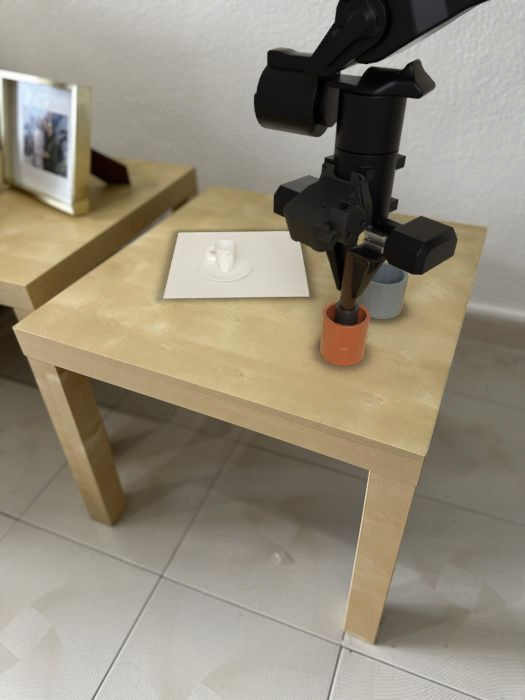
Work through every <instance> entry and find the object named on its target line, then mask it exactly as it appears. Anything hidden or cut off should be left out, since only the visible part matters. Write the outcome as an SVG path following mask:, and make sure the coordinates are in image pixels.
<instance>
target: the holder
mask: <svg viewBox="0 0 525 700" xmlns="http://www.w3.org/2000/svg"><path fill="white" fill-rule="evenodd" d="M336 302H337V301H332V302H331V303H328V304H327V305H326V306H325V307H324V308H323V310H322V317H321V327H320V328H321V329H320V330H321V331H320V344H319V354H320V355H321V357H322V359H323V360H325V361H326V362H328V363H330V364H332V365H335V366H341V367H345V366H347V367H348V366H353V365H357V364H358V363H359V362H361V361H362V360H363V358H364V356H365V351H366V345H367V344H366V343H367V339H368V334H369V329H370V328H369V327H370V322H371V317H370V313H369V311H368V310H367V309H366V308H365V307H364V306H362V305H360V304H359V313H358V320H357V325H352V326H351V325H341V324H337V323H335V322H334V315H335V306H336Z"/></svg>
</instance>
